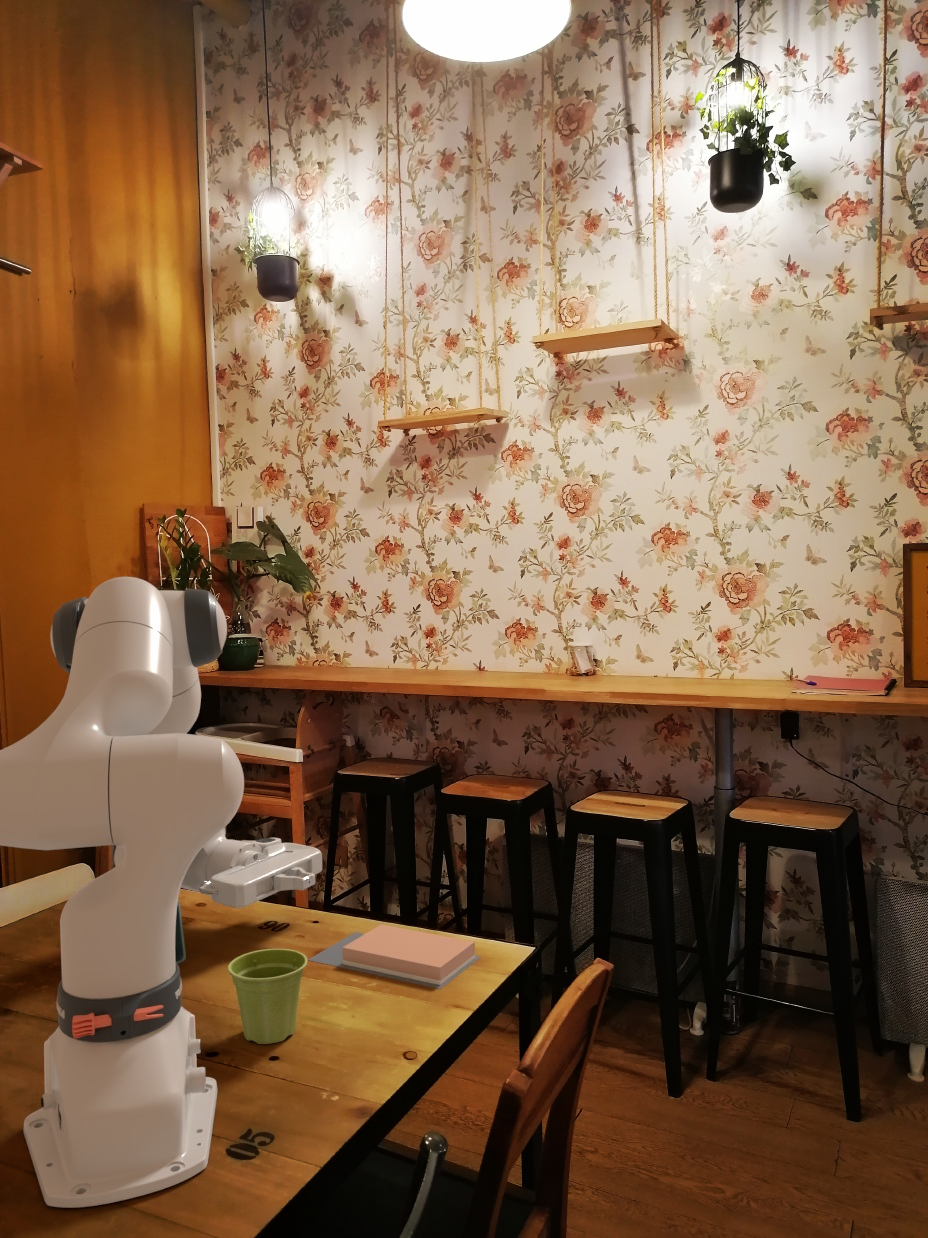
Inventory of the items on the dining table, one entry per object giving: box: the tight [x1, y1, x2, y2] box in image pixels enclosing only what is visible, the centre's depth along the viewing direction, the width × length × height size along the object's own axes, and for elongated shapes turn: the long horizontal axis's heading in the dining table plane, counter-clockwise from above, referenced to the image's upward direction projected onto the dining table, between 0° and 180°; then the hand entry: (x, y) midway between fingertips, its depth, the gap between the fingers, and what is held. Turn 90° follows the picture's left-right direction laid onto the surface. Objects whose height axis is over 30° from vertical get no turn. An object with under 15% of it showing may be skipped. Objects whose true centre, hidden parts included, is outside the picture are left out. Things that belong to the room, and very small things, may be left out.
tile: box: [342, 924, 476, 985], centre depth 133 cm, size 2×10×16 cm
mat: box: [307, 931, 482, 990], centre depth 134 cm, size 22×12×1 cm, turn 62°
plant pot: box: [227, 948, 308, 1045], centre depth 113 cm, size 9×9×9 cm
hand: (309, 882), depth 142 cm, fingers closed
